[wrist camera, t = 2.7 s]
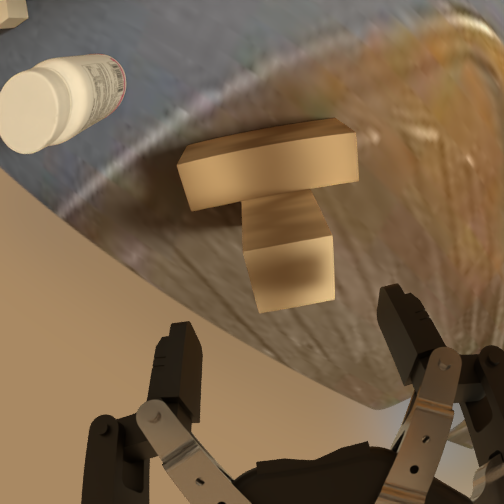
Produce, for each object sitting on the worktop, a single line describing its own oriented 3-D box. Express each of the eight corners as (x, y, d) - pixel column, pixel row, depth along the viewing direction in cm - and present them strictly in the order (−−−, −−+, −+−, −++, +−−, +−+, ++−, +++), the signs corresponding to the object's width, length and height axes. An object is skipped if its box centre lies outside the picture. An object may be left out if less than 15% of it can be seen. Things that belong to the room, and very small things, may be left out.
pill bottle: (58, 106, 17) (-18, 143, 10) (82, 45, 15) (4, 51, 8) (111, 129, 18) (48, 176, 12) (140, 67, 16) (79, 78, 9)
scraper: (335, 118, 19) (395, 163, 11) (342, 208, 23) (387, 287, 15) (187, 145, 20) (155, 206, 12) (213, 232, 24) (203, 321, 16)
